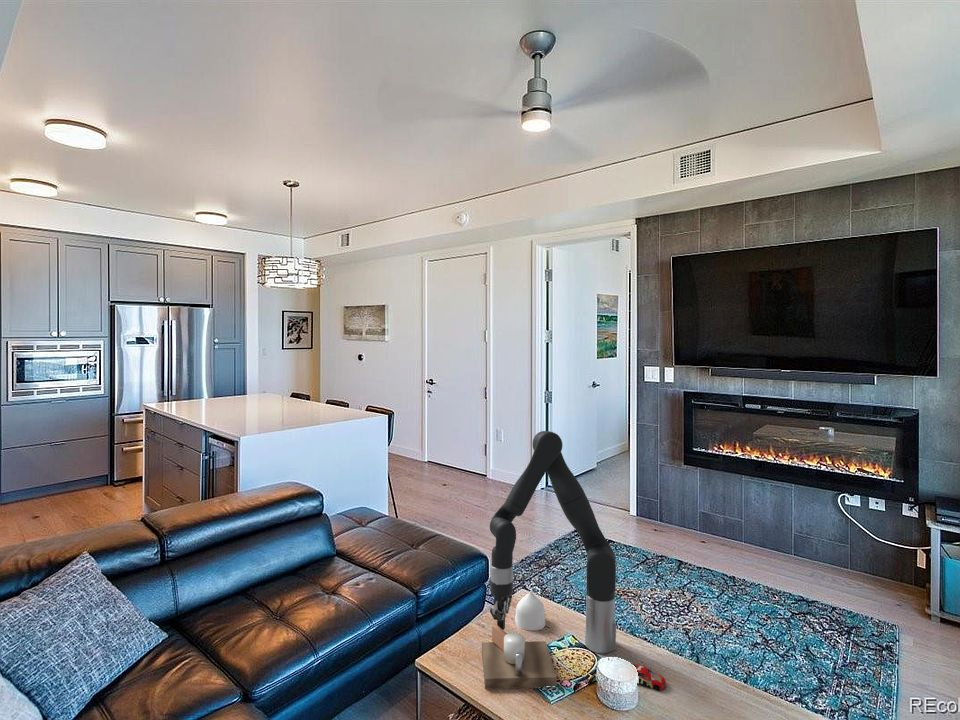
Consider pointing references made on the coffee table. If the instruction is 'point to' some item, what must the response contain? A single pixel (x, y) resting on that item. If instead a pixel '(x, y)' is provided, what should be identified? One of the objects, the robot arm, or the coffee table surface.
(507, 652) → the white cylinder with panel
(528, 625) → the teardrop
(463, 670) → the coffee table surface
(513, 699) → the coffee table surface
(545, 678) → the base
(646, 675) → the race car
